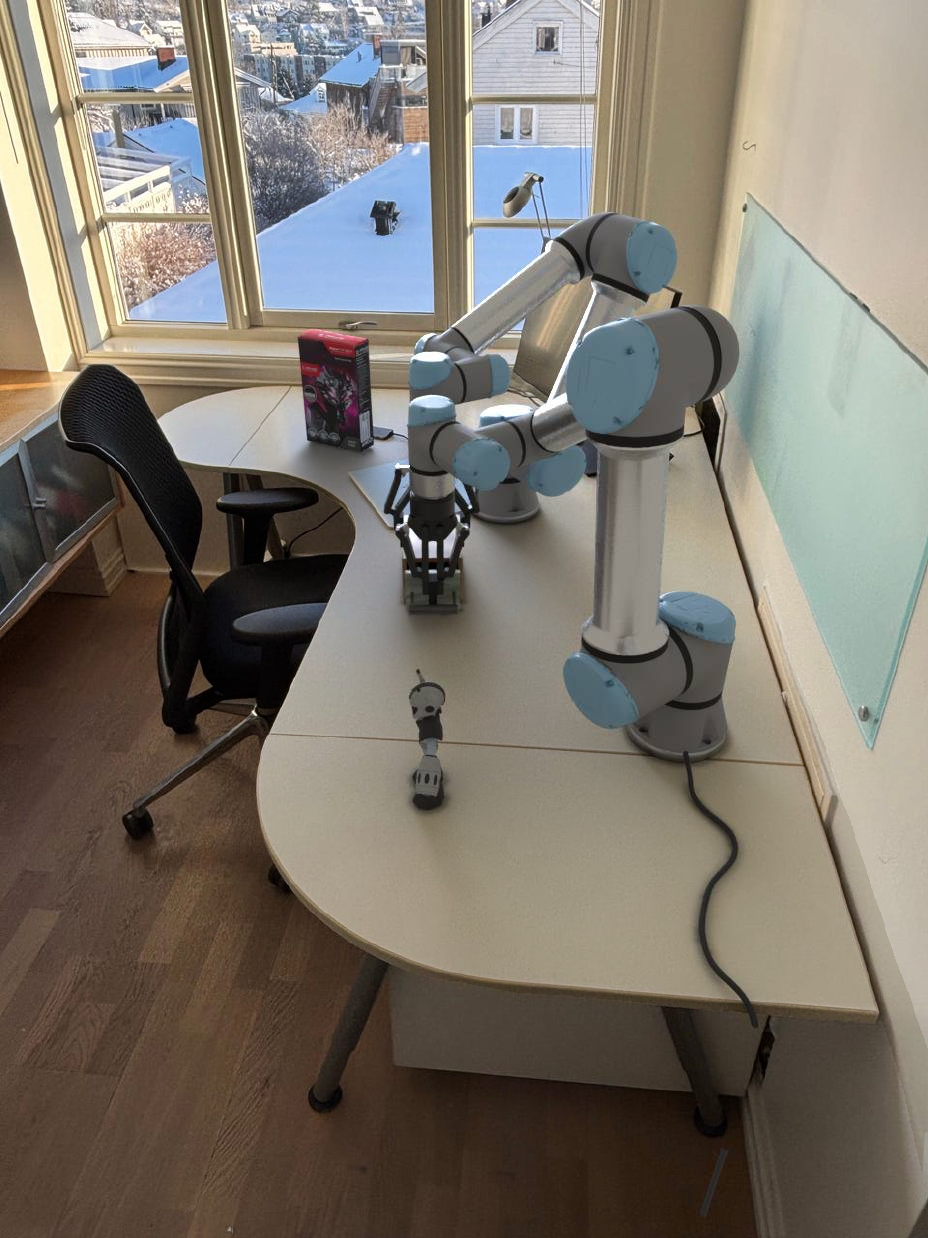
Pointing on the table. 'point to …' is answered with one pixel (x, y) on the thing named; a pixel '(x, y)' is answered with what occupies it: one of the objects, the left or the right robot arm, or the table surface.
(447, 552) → the cabinet
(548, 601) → the table surface
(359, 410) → the graphics card box
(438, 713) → the robot
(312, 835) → the table surface
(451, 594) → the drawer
